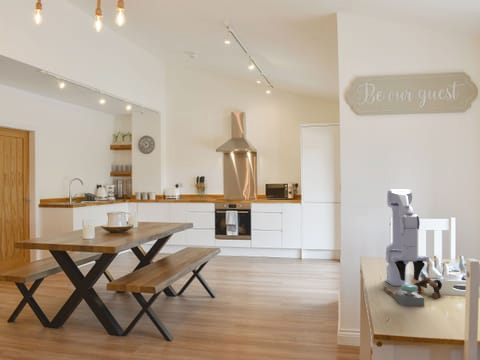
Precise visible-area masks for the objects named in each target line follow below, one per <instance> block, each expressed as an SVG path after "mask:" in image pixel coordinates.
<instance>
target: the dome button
mask: <svg viewBox="0 0 480 360" xmlns="http://www.w3.org/2000/svg"><path fill="white" fill-rule="evenodd" d="M400 287H401V288H400V289H401V290H402V292H407V296H412V292H416V293H417V292H418V287H417V286H416V285H414V284H412V283H411V284H410V283H408V284H403V285H401V286H400Z"/></svg>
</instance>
